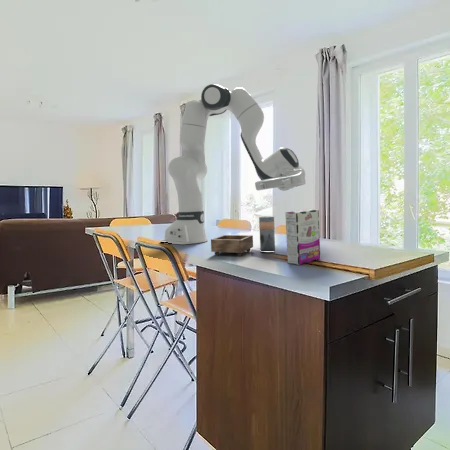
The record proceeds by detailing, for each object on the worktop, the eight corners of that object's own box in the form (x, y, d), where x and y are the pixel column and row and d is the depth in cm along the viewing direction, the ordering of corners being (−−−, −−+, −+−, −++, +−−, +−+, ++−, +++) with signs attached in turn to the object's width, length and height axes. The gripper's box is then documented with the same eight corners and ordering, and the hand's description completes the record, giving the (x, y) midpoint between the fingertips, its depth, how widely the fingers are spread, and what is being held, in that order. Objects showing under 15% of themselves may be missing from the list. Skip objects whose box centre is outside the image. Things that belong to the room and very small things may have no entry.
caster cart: (211, 255, 131) (210, 239, 130) (224, 249, 142) (223, 234, 141) (242, 257, 126) (241, 240, 126) (253, 250, 137) (252, 235, 137)
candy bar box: (308, 257, 120) (307, 209, 119) (320, 259, 117) (319, 209, 115) (286, 263, 113) (284, 211, 112) (298, 265, 109) (297, 212, 108)
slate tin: (258, 253, 133) (256, 218, 131) (262, 250, 138) (261, 216, 136) (272, 253, 130) (271, 217, 129) (276, 250, 135) (275, 216, 134)
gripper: (261, 176, 157) (247, 181, 146) (306, 168, 146) (294, 172, 134) (264, 190, 158) (250, 196, 147) (309, 183, 147) (297, 189, 135)
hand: (271, 185), depth 140 cm, fingers open, 8 cm apart
